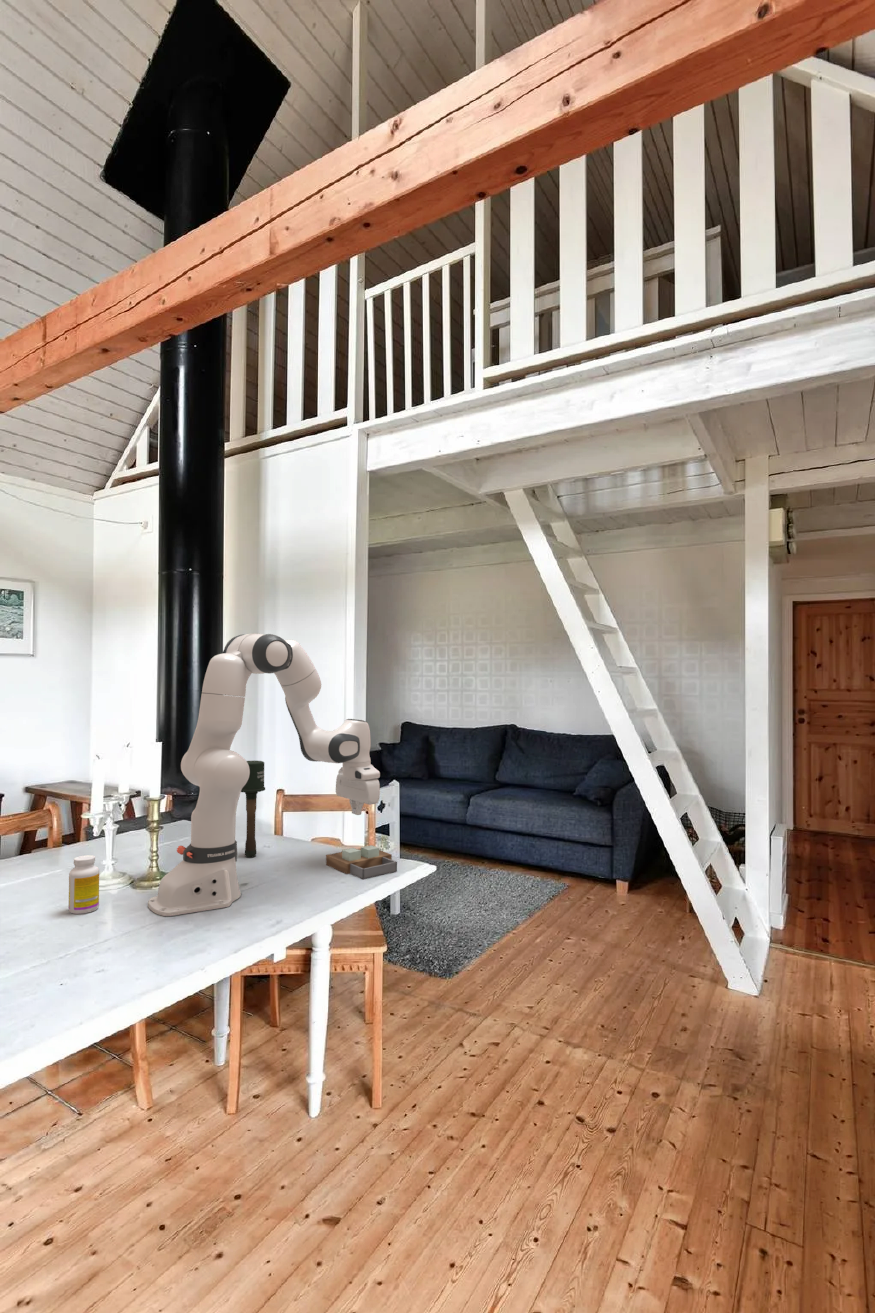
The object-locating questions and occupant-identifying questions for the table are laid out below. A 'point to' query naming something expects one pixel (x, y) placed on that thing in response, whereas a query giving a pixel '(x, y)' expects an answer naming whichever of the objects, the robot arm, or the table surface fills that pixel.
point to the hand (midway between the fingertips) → (356, 814)
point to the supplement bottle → (84, 885)
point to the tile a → (351, 854)
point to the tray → (374, 869)
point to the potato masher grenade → (252, 803)
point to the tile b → (369, 851)
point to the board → (354, 861)
